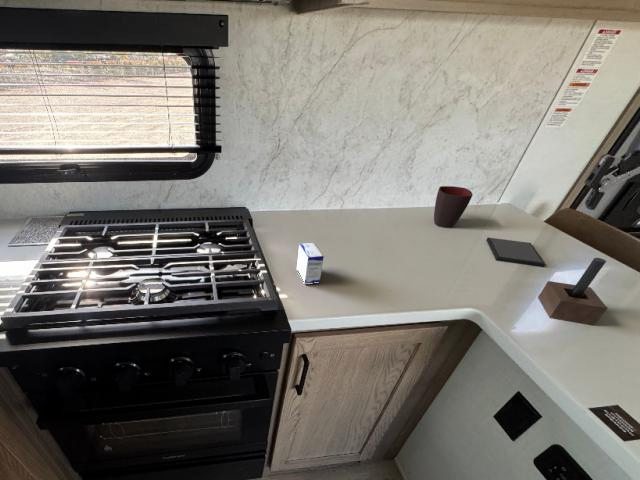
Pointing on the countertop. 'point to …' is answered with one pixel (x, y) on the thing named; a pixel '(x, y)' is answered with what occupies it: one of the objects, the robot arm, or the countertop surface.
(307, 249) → the box
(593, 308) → the pen holder
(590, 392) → the countertop surface
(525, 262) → the tablet
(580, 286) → the stylus
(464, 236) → the countertop surface
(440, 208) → the cup
